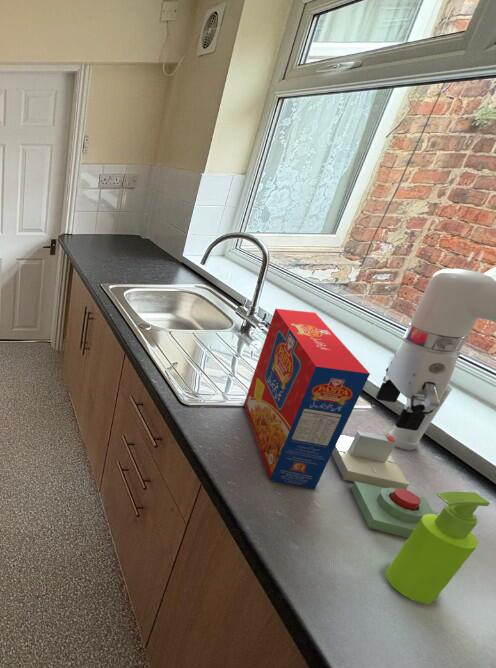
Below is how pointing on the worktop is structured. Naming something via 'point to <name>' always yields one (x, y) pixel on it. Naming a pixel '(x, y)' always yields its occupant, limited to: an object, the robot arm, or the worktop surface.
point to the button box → (387, 510)
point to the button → (405, 499)
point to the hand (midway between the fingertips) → (394, 413)
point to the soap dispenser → (436, 548)
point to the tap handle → (372, 446)
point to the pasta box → (301, 396)
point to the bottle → (410, 437)
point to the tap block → (367, 468)
